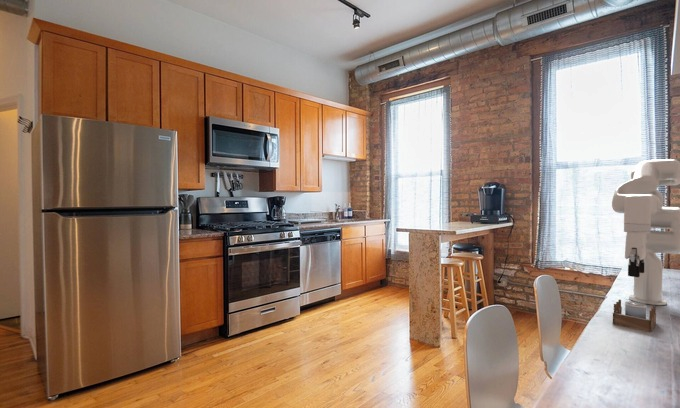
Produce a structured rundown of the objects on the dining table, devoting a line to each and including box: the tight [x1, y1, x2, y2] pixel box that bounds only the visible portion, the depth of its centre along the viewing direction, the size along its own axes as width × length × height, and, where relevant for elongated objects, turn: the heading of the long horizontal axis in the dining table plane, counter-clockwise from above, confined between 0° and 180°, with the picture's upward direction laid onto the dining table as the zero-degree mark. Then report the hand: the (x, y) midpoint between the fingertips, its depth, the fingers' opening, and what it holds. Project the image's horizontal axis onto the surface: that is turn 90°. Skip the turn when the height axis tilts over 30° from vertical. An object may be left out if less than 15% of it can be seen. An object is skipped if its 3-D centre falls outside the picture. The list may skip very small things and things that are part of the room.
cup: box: [624, 300, 648, 319], centre depth 131 cm, size 6×6×7 cm
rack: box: [612, 299, 657, 333], centre depth 129 cm, size 12×11×7 cm
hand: (636, 274), depth 131 cm, fingers open, 9 cm apart
